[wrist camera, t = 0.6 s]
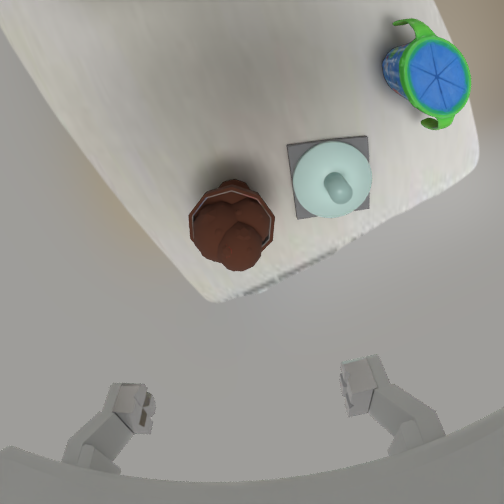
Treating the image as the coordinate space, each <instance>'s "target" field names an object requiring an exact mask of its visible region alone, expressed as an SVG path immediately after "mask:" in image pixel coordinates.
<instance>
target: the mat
mask: <svg viewBox="0 0 504 504" xmlns="http://www.w3.org/2000/svg"><path fill="white" fill-rule="evenodd" d="M327 141H340V142H345V143H347V144H350V145H352V146H354V147H355V148H356V149H358V150H359V151H360V152H361V153H362V154H363V155H364V156H365V158H366V159H367V161H368V163H369V148H368V137H367V136H358V137H348V138H338V139H329V140H321V141H313V142H305V143H298V144H291V145H287V150H288V157H289V164H290V171H291V178H292V185H293V173H294V169H295V166H296V164H297V162H298V160H299V159H300V158H301V156H302V155H303V154H304V153H305V152H306V151H307V150H308V149H310V148H311V147H313V146H315V145H317V144H319V143H322V142H327ZM293 192H294V200H295V207H296V215H297V220H298V219H304V218H311V217H317V216H316V215H314V214H312V213H310V212H309V211H307V210H306V209H305V208H304V207H303V206H302V205H301V204H300V202H299V201H298V199H297V197H296V194H295V191H294V187H293ZM364 209H369V193H368V196H367V197H366V199H365V200H364V202H363V203H362V204H361V205H360V206H359V207H358V208H357V209H355V210H354V211H357V210H364Z"/></svg>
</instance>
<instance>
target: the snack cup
mask: <svg viewBox="0 0 504 504" xmlns="http://www.w3.org/2000/svg"><path fill="white" fill-rule="evenodd" d="M408 23H409V24H410V26H411V27H412V28H413V29H414V31H415V36H416V38H415V39H414V40H413V41H412V42H410V43H408V44H405V45H402V46H399V47H396V48H394V49H392V50H391V51H390V52H389V53H388V54H387V55H386V57H385V59H384V61H383V64H382V67H383V74H384V77H385V79H386V81H387V83H388V85H389V86H390V87H391V88H392V89H393V90H394V91H395V92H396V93H398V94H399V95H401V96H402V97H404V98H406V99H408V100H409V102H410V103H411V104H412V105H413V106H414V107H416V108H417V109H419V110H420V111H422V112H423V113H425V114H427V115H430V116H433V117H436V119H437V120H438V121H437V120H435V119H433V118H426V119H424V120H422V121H421V124H422V125H423V126H424V127H426V128H428V129H431V130H439V129H442V128H446V127H448V126H449V125H450V124H451V123H452V121H453V119H454V116H455V114H457V113H458V112H459V111H460V110H461V109H462V108H463V107H464V106H465V104H466V102H467V100H468V98H469V95H470V90H471V75H470V71H469V68H468V64H467V62H466V60H465V58H464V57H463V55H462V54H461V52H460V51H459V50H458V49H457V48H456V47H455V46H454V45H453V44H452V43H450V42H449V41H447V40H445V39H442V38H440V37H438V36H436V35H435V34H434V33H433V31H432V30H431V29H430V28H429V27H428V26H426V25H425V24H424V23H423V22H421V21H419V20H417V19H403V20H398V21H395V22H394V23H393V25H394V26H398V25H405V24H408Z"/></svg>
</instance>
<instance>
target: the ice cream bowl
mask: <svg viewBox="0 0 504 504" xmlns="http://www.w3.org/2000/svg"><path fill="white" fill-rule="evenodd" d="M274 221H275V217H274V215H273V213H272V212H271V210H270V209H269V208H268V206H267V205H266V203H265V202H264V201H263V199H262V198H261V197H260V195H259V194H258V193H257V192H254V191H251V190H250V188H249V187H248V186H247V184H246V183H245V182H242V181H239V180H236V179H232V180H229V181H225V182H223V183H222V184H221V185H220V186H219V188H218V189H214V190H211V191H207V192H206V193H205V194H204V196H203V197H202V198H201V199H200V201H199V202H198V203H197V205H196V206H195V207H194V209H193V210H192V211H191V213H190V214H189V228H190V239H191V240H192V241H193V242H194V244H195V246H196V247H197V248H198V249H199V251H200V252H201V254H202V256H204V257H205V258H206V259H209V260H212V261H214V262H215V261H216V262H219V263H222V264H223V265H224V266H225V267H226V268H227V269H229V270H232V271H244V270H247V269H249V268H251V267H253V266H254V265H255V263H256V262H257V261H258V259H259V258H260V257H261V252H262V251H263V250H264V249H265V248H266V247H267V246H268V245H269V244H270V243H271V242H272V241H273V232H274Z"/></svg>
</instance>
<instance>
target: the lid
mask: <svg viewBox="0 0 504 504" xmlns="http://www.w3.org/2000/svg"><path fill="white" fill-rule="evenodd" d="M371 184H372V172H371V168H370V165H369V163H368V161H367V159H366V158H365V156H364V155H363V154H362V153H361V152H360V151H359V150H358V149H356V148H355V147H354V146H352V145H350V144H347V143H345V142H340V141H327V142H322V143H319V144H317V145H315V146H313V147H311V148H310V149H308V150H307V151H306V152H305V153H304V154H303V155H302V156H301V158H300V159H299V160H298V162H297V164H296V166H295V169H294V173H293V187H294V191H295V194H296V197H297V199H298V201H299V202H300V204H301V205H302V206H303V207H304V208H305V209H306V210H307V211H309V212H310V213H312V214H314V215H316V216H320V217H324V218H336V217H341V216H344V215H347V214H349V213H351V212H352V211H354V210H355V209H357V208H358V207H359V206H360V205H361V204H362V203H363V202H364V200H365V199H366V197H367V196H368V193H369V191H370V188H371Z"/></svg>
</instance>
